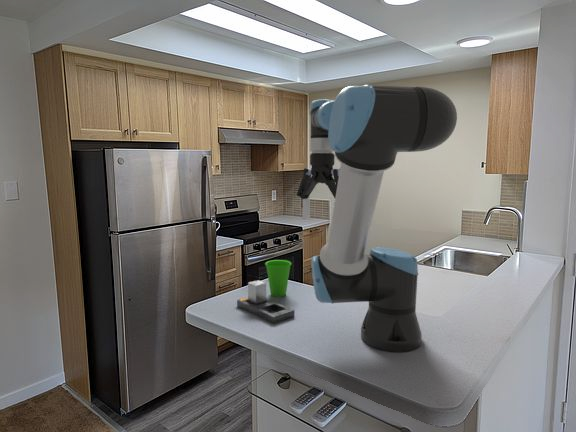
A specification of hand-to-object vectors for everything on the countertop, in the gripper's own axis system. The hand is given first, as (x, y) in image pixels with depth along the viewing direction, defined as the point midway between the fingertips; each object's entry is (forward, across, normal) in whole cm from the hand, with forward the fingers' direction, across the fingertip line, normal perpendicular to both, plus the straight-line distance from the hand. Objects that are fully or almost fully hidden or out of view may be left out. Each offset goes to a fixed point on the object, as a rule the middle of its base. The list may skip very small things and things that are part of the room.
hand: (321, 221), depth 123 cm
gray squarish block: (+27, +10, +18) cm, 34 cm away
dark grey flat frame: (+27, +6, +18) cm, 33 cm away
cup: (+27, +15, +5) cm, 31 cm away
